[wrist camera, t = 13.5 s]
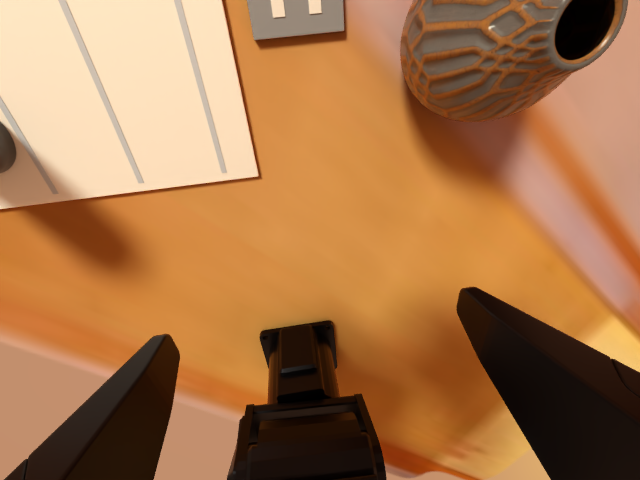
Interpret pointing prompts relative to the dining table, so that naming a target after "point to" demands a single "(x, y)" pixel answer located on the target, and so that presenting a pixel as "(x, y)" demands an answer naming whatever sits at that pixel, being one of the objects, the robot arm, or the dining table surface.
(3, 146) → the grey capped bottle
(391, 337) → the dining table surface
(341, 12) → the grey striped tile
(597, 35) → the vase
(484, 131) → the dining table surface
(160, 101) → the paper
